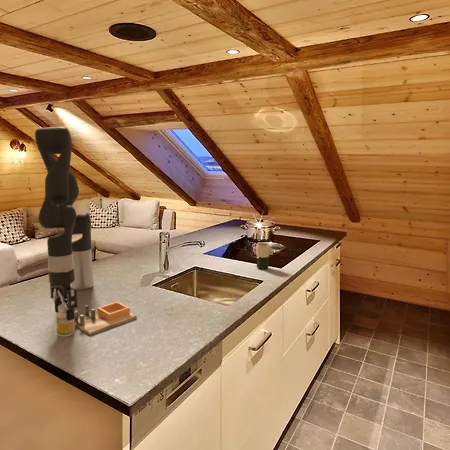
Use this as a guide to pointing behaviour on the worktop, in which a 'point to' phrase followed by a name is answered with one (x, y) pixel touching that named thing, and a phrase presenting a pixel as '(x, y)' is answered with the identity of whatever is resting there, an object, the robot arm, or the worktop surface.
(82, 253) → the robot arm
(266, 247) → the character mug
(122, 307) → the box
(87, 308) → the set of grey pegs
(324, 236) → the worktop surface
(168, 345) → the worktop surface
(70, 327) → the supplement bottle
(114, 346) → the worktop surface
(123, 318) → the board
